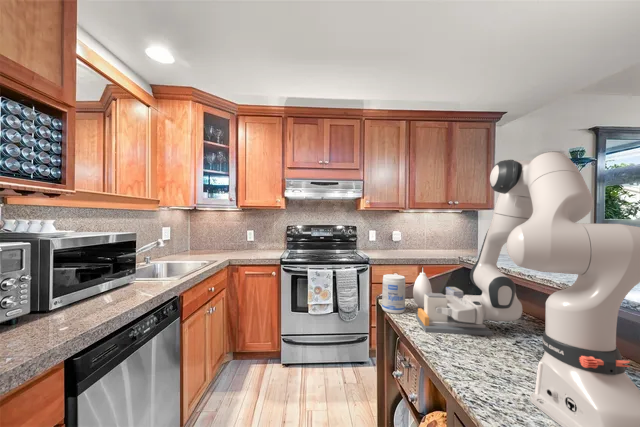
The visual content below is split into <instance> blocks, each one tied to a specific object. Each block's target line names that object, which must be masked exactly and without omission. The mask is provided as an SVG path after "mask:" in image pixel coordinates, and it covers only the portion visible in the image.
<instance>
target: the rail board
mask: <svg viewBox="0 0 640 427" xmlns="http://www.w3.org/2000/svg"><path fill="white" fill-rule="evenodd" d="M415 318H416V320H417V322H418V323H419V325H420V326H421V328H422V329H423V331H424V332H425V333H432V334H433V333H435V334H451V335H469V336H471V335H473V336H490V337H491V336H492V337H493V331H492V329H490V328H489V327H488V326H486V324H484V323H482V324H475V323H469V322H460V321H457V320H454V319H453V318H452V317H451V316H450V315H447V322H431V321H429V317H428V315H427V314H426V313H425V312H424V308H420V307H418V308H417V313H416V314H415Z"/></svg>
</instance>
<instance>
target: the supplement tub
mask: <svg viewBox="0 0 640 427" xmlns="http://www.w3.org/2000/svg"><path fill="white" fill-rule="evenodd" d="M382 276H383V277H382V291H381V293H382V295H381V299H382V300H381V309H382V311H384V312H386V313H389V314H402V313H404V312H405V310H406V277H405V276H404V275H401V274H394V273H393V274H391V273H389V274H388V273H387V274H383V275H382Z"/></svg>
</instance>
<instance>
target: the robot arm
mask: <svg viewBox="0 0 640 427" xmlns="http://www.w3.org/2000/svg"><path fill="white" fill-rule="evenodd" d="M489 182H490V183H489V185H490V187H491V189H492V190H493V191H494V192H497V193H499V194H498V197H497V200H496V202H495V205H494V206H495V207H494V210H493V214H492V218H491V223H490V225H489V228H488V229H487V230H486V233H485V236H484V239H483V243H482V245H481V247H480V248H481V249H480V252H479V255H478V258H477V261H476V262H475V263H474V265H473V267H472V268H471V270H470V273H469V278H470V280H471V283H472V284H473V285H474V286H475V287H477V288H478V289H479V290H480V291H481V294H480V295H476V294H475V295H473V294H463V298H458V297H457V296H451V295H446V294H444V295H445V296H446V298H447V308H441V307H436V308H435V309H436V310H435V311H436V312H437V313H442V314H446V315H449V316H451V317H452V318H453V319H454V320H457V321H460V322H469V323H475V324H483V322H484V321H491V322H505V323H506V322H513V321H514V322H515V321H517V320H518V319H519V320H520V318H521V316H522V314H523V305H522V304H523V303H522V302H521V301H520V300H519V299H518V297H517V293H516V292H517V287H516V286H517V285H516V283H515V281H513V280H512V279H511V278H510V277H509V276H508V275H506V274H504V273H503V272H501V271H500V270H499V268H498V266H497V263H498V260H499V258H500V254H501V251H502V248H503V246H505V244H506V251H507V253H508V256H509V258H510V260H512V262H513V263H514V264H515V265H516V266H517V267H519V268H524V269H528V270H532V271H537V272H542V273H551V274H566V275H567V274H568V275H577V278H576V280H575V281H574V283H572V284H571V285H570V286H569V287H566V288H562V289H560V290H557V291H554V292H553V293H552V294H550V295H549V296H548V298H546V301H545V324H544V325H545V326H544V327H545V328H544V329H545V330H544V331H543V332H542V337H541V342H542V350H544V352H543V356H542V357H541V359H540V361H539V362H538V365H537V372H536V379H535V380H536V381H535V387H534V388H535V389H534V390H535V391H534V392H533V393H532V394H530V396H529V402H530V403H531V404H533V405H534V406H535V407H536V408H538V409H539V410H540V411H541V412H543V413H544V414H545V415H546V416H547V417H549V418H551V419H552V420H553V421H554V422H556V424H558V425H560V426H561V427H640V389H639V388H638V387H637V386H636V384H635V383H634V382H633V381H632V379H631V378H630V377H629V376H628V375H627V373H626V368H630V367H631V365H626V364H629V363H631V361H630V360H623V356H622V354H621V352H620V349H619V348H618V346H617V324H618V318H619V317H618V316H619V311H620V308H621V305H622V303H623V302H624V299H625V298H626V297H627V295H628V294H629V293H630V292H631V291H632V290H633V289H634V287H636V286H637V285H638V284H640V226H635V225H628V224H622V223H591V222H590V223H587V222H586V223H582V222H580V221H581V220H583V219H584V218H585V217H586V216H587V215H589V214H590V212H591V211H592V209H593V206H594V198H593V196H592V193H591V191H590V190H589V188H588V185H587V183H586V180H585V179H584V176H583V175H582V173H581V172H580V170H579V168H578V167H577V165H576V164H575V163H574V162H573V160H571V158H569V157H568V156H567V155H565V154H564V153H562V152H557V151H548V152H547V151H546V152H544V153H543V152H542V153H541V154H538V155H537V156H536V157H534V158H533V159H532V160H524V159H522V160H518V159H517V160H515V159H505V160H500V161H498V162H497V163H495V164H494V166H493V168H492V170H491V172H490V176H489Z"/></svg>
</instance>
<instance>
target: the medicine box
mask: <svg viewBox="0 0 640 427" xmlns="http://www.w3.org/2000/svg"><path fill="white" fill-rule="evenodd" d="M445 295H451V296H457V297H458V298H463V296H464V291H463V290H462V289H460V288H458V287H456V286H446V287H445Z"/></svg>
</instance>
